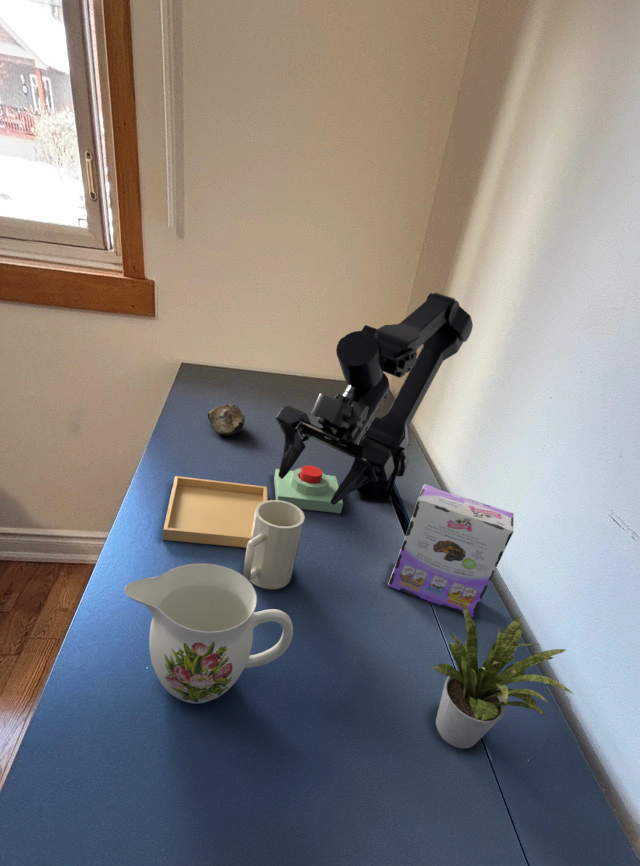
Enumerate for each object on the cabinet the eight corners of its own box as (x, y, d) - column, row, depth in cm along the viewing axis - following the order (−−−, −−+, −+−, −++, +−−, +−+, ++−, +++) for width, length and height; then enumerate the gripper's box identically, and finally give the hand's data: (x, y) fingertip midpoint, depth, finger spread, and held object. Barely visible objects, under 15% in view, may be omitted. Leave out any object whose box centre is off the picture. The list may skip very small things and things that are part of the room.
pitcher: (287, 717, 60) (311, 631, 53) (118, 723, 56) (117, 629, 48) (276, 643, 69) (295, 561, 62) (128, 643, 64) (130, 553, 57)
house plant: (529, 815, 57) (605, 720, 48) (402, 778, 57) (453, 677, 48) (511, 706, 69) (569, 614, 60) (406, 676, 69) (448, 581, 60)
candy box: (475, 596, 86) (516, 512, 77) (472, 619, 81) (515, 532, 72) (394, 566, 88) (424, 481, 80) (386, 586, 84) (417, 498, 75)
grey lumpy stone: (247, 432, 113) (248, 420, 122) (234, 403, 110) (236, 393, 119) (214, 445, 114) (218, 432, 123) (200, 416, 111) (205, 405, 120)
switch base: (333, 485, 107) (338, 468, 105) (340, 513, 99) (345, 495, 97) (274, 478, 104) (277, 460, 102) (276, 506, 96) (279, 487, 94)
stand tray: (265, 495, 98) (266, 486, 97) (267, 549, 85) (269, 539, 84) (174, 485, 95) (175, 475, 94) (162, 539, 82) (163, 529, 81)
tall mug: (263, 553, 84) (274, 494, 78) (299, 574, 82) (313, 514, 76) (221, 583, 76) (230, 520, 71) (260, 607, 74) (272, 544, 68)
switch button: (319, 475, 102) (321, 467, 101) (321, 485, 98) (323, 477, 97) (298, 472, 101) (300, 464, 100) (300, 483, 98) (302, 474, 97)
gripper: (293, 351, 77) (235, 441, 74) (409, 398, 70) (350, 497, 68) (311, 393, 87) (261, 473, 85) (414, 436, 81) (363, 524, 78)
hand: (305, 490), depth 78 cm, fingers open, 9 cm apart
